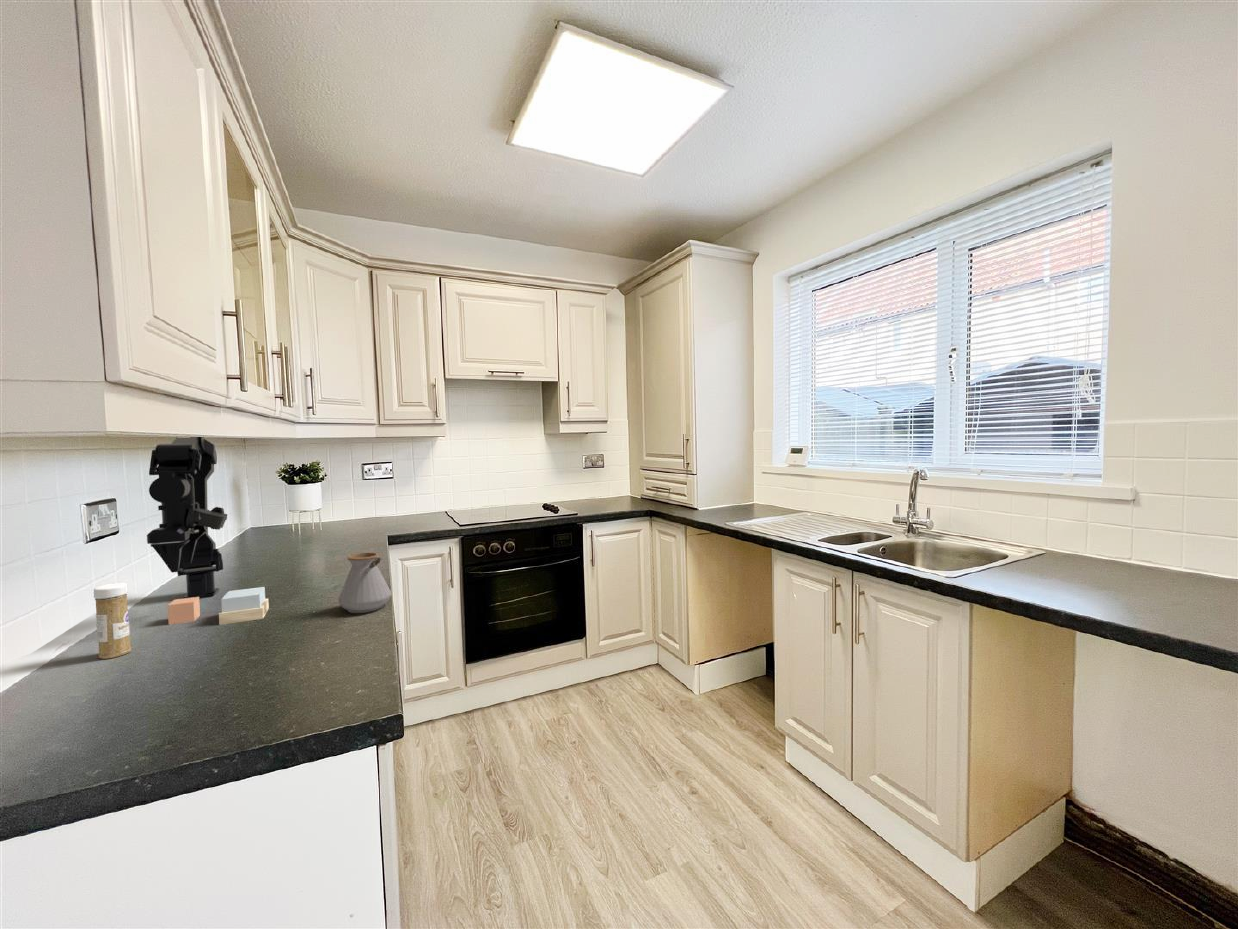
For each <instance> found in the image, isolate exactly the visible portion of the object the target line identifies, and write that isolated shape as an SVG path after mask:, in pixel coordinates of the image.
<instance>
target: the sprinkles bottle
mask: <svg viewBox="0 0 1238 929" xmlns="http://www.w3.org/2000/svg"><path fill="white" fill-rule="evenodd" d="M128 593H129V588H128V583H125V582H115V583H108V584H103V585H100V586H99V585H98V586H97V587H94V588H93V598H94V601H95V609H96V613H95V620H96V621H95V623H96V636H97V642H98V658H99V659H103V660H105V659H113V658H118V657H121V656H123V655H126V654H128V653H129V652H131V651H132V647H131V641H130V640H131V638H130V634H131V633H130V632H131V631H130V630H131V629H130V618H129V607H128Z"/></svg>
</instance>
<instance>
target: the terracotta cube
mask: <svg viewBox="0 0 1238 929" xmlns="http://www.w3.org/2000/svg"><path fill="white" fill-rule="evenodd" d="M200 604H201V603H200V597H193V598H184V599H182V598H177V599H176V598H175V599H173V600H172V601H170V603H169V604H167V617H168V619H167V620H168V625H170V626H171V625H176V624H184V623H185V624H186V623H191V622H195V621H196V620H197V619H198V618H199V617H200V616H201V607H200Z"/></svg>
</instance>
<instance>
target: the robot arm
mask: <svg viewBox="0 0 1238 929" xmlns="http://www.w3.org/2000/svg"><path fill="white" fill-rule="evenodd" d="M217 454H218V453H217V450H216V447H215V444H213V443H211V441H209V440H207V439H206V438H205V437H204V436H203V437H190V438H177V437H176V438H175V439H174V440H173V441H172V442H171V443H160V444H157V445H156V446H155V449H152V451H151V456H150V461H149V462H150V464H149V470H148V474H149V476H158V477H157V478H156V479H154V480H153V481H152V482H151V483H150V485H149V487H148V493H149V495H150V497H151V498H152V499H153V500H154V501H156V502H158V503H160V505H158V506H157V507H158V510H157V511H161V518H162V519H161V521H162V522H161V523H160V524H158V525H159V526H158V528H154V529H152V530H151V531H150V532H148V533H147V535H146V542H147V544H149V545H150V548H153V549H154V551H155V552H156V553H157V554H158V556H159V557H160V558H161V560H162V561H163V563H164V564H165V565H166V567H167V568H168V570H169V571H170V572H171V573H177V577H180V576H185V580H186V582H185V583H186V594H185V595H184V596H182V597H181V599H184V598H193V597H199V598H207V597H214V596H215V595H216V594H217V593H218V591H220V587H216V585H215V583H216V582H215V572H216V573H217V572H219V571H222V570H224V560H223V555H222V553H221V552H220V551H219V548H217V545H216V542H215V541H214V540H213V539H212V537H211V536H210V535H209V528H210V529H211V530H215V531H218V530H221V529H224V528H223V527H224V526H225V522H226V521H227V520H228V513H225V509H224V508H223V507H220V506H214V507H213V508H212V509H211V510H209V509H208V480H209V479H210V477H211V476H212V475H213V474H214V472H215V465H217V463H218V455H217Z"/></svg>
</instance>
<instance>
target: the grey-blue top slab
mask: <svg viewBox="0 0 1238 929" xmlns="http://www.w3.org/2000/svg"><path fill="white" fill-rule="evenodd" d="M265 599H266V589H265V586H259V587H253V588H244V589H236V590H235V589H234V590H228V591H227V592H226V593H225V595H223V597H222V598H221V599H220V600H221V602H220V603H221V611H222V612H230V611H237V610H244V609H252V608H259V607H261V605H262V603H263V602H264V600H265Z"/></svg>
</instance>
